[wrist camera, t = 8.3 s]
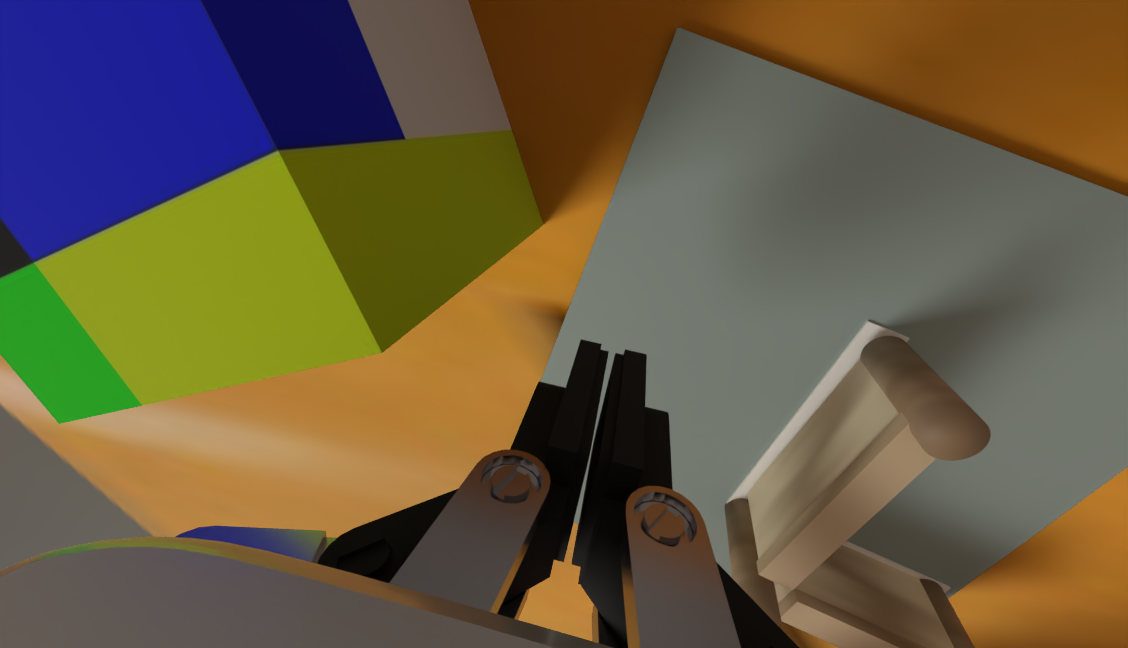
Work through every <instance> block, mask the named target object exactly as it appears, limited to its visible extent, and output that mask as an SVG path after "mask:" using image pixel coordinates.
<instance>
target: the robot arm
mask: <svg viewBox="0 0 1128 648" xmlns="http://www.w3.org/2000/svg"><path fill="white" fill-rule="evenodd" d="M601 345H602V344H600V343H595V342H591V341H586V340H582V339H581V340H580V343H579V347H578V350H577V353H576V356H575V359H574V363H573V366H572V369H571V372H570V375H569V379H568V382H567V385H566V388H565V387H561V386H556V385H552V384H548V383H544V382H538V385H537V387H536V389H535V391H534V394H533V396H532V399H531V401H530V403H529V406H528V408H527V411H526V413H525V415H524V418H523V420H522V423H521V425H520V427H519V430H518V432H517V435H516V437H515V439H514V442H513V444H512V446H511V449H510V450H501V451H496V452H493V453H491V454H489V455H487V456H485V457H483V458H482V459H481V460H480V461H479V462H478V463H477V464H476V466H475V467H474V468H473V470H472V471H471V472H470V474H469V475H468V476H467V478H466V479H465V481H464V482H463V483H462V485H461V486H460V487H459V489H456V490H454V491H451V492H448V493H446V494H443V495H441V496H438V497H435V498H433V499H430V500H427V501H425V502H422V503H419V504H417V505H414V506H412V507H409V508H406V509H404V510H401V511H398V512H396V513H393V514H391V515H388V516H385V517H383V518H380V519H377V520H375V521H372V522H369V523H367V524H364V525H362V526H359V527H356V528H354V529H352V530H350V531H348V532H346V533H344V534H342V535H340V536H339V537H338V538H329V537H326V531H315V530H293V529H272V528H251V527H229V526H209V527H199V528H196V529H193V530H190V531H187V532H184V533H182V534H179V535H178V536H176V537H138V538H127V539H115V540H104V541H98V542H92V543H86V544H80V545H76V546H71V547H66V548H62V549H57V550H53V551H49V552H46V553H43V554H40V555H37V556H34V557H32V558H29V559H25V560H23V561H20V562H18V563H16V564H14V565H12V566H10V567H8V568H5V569H3V570H1V571H0V648H799V647H798V646H797V645H796V644H795V643H794V642H793V641H792V640H791V639H790V638H789V637H788V636H787V635H786V634H785V633H784V632H783V631H782V630H781V628H780V627H779V626H778V625H777V624H776V623H775V622H774V621H773V620H772V619H771V618H770V617H769V616H768V615H767V614H766V613H765V612H764V611H763V610H762V609H761V608H760V607H759V606H758V605H757V604H756V602H755V601H754V600H753V599H752V598H751V597H750V596H749V595H748V594H747V593H746V592H745V591H744V590H743V589H742V588H741V587H740V586H739V585H738V584H737V583H736V582H735V581H734V580H733V579H732V578H731V576H730V575H729V574H728V573H727V572H726V571H725V570H724V569H723V568H722V567H721V566H720V565H719V564H718V563H717V562H716V560H715V556H714V553H713V549H712V546H711V543H710V539H709V536H708V532H707V529H706V525H705V522H704V520H703V518H702V516H701V514H700V512H699V511H698V509H697V508H696V507H695V506H694V505H693V503H692V502H690V501H689V500H688V499H687V498H685V497H684V496H683V495H682V494H680V493H678V492H676V491H674V490H673V487H672V467H671V446H670V426H669V414H668V412H665V411H661V410H657V409H653V408H649V407H645V398H646V363H647V354H643V353H639V352H635V351H630V350H626V349H625V351H624V354H623V355H622V354H618V353H615V356H614V360H613V364H612V368H611V373H610V377H609V381H608V385H607V389H606V393H605V397H604V401H603V405H602V409H601V413H600V417H599V421H598V425H597V429H596V433H595V438H594V442H593V447H592V452H591V458H590V464H589V469H588V475H587V480H586V486H585V491H584V497H583V502H582V508H581V514H580V519H579V525H578V530H577V536H576V541H575V547H574V553H573V558H572V564H573V565H576V566H580V567H581V569H580V576H579V582H578V584H581V586H582V588H583V589H584V590H585V592H586V593H587V595H588V596H589V598H590V599H591V601H592V602H593V604H594V606H593V612H592V641H589V640H585V639H582V638H578V637H575V636H571V635H568V634H564V633H561V632H558V631H554V630H551V629H547V628H544V627H540V626H537V625H533V624H530V623H526V622H523V621H519V620H518V619H519V616H520V614H521V612H522V609H523V607H524V605H525V602H526V600H527V597H528V593H529V589H530V588H531V587H533V586H535V585H536V584H538V583H540V582H542V581H544V580H545V579H547V578H549V577H550V574H551V569H552V565H553V560H558V561H562V562H564V558H565V554H566V550H567V546H568V542H569V538H570V534H571V530H572V526H573V522H574V518H575V514H576V510H577V506H578V502H579V498H580V494H581V489H582V485H583V481H584V477H585V473H586V469H587V465H588V461H589V456H590V451H591V446H592V441H593V435H594V430H595V424H596V419H597V413H598V408H599V403H600V397H601V392H602V386H603V381H604V375H605V370H606V364H607V359H608V353H609V351H605V350H601Z"/></svg>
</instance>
